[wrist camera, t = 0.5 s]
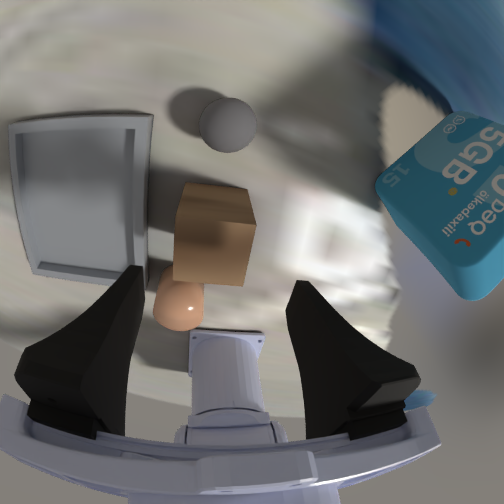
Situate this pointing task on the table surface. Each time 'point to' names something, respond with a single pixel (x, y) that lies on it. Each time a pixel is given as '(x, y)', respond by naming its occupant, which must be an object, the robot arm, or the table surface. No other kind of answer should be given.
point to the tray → (83, 194)
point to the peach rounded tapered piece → (178, 302)
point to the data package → (453, 201)
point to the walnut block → (213, 235)
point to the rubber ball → (228, 125)
